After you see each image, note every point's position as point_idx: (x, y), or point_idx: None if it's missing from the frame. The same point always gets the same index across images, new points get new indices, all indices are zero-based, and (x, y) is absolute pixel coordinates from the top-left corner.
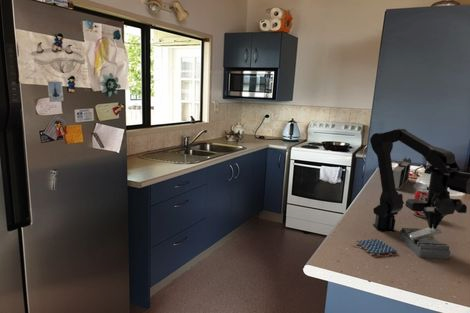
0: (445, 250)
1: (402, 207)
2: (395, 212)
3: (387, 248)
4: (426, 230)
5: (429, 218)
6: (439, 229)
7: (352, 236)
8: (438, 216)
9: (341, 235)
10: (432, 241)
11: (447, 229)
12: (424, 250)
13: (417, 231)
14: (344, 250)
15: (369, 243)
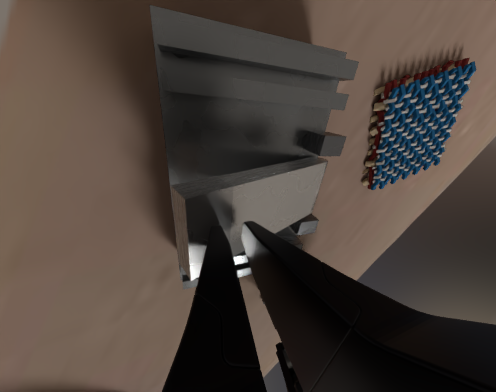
0: (193, 16)
1: (299, 390)
2: (284, 352)
3: (404, 114)
4: (259, 220)
5: (354, 285)
6: (191, 210)
7: (395, 208)
8: (258, 376)
9: (413, 208)
10: (212, 171)
11: (26, 367)
12: (320, 50)
13: (287, 221)
14: (481, 114)
15: (423, 150)
